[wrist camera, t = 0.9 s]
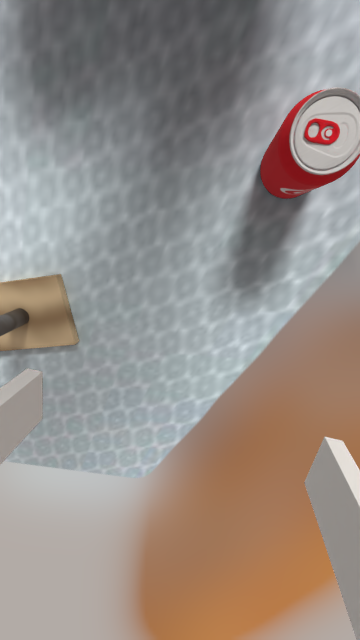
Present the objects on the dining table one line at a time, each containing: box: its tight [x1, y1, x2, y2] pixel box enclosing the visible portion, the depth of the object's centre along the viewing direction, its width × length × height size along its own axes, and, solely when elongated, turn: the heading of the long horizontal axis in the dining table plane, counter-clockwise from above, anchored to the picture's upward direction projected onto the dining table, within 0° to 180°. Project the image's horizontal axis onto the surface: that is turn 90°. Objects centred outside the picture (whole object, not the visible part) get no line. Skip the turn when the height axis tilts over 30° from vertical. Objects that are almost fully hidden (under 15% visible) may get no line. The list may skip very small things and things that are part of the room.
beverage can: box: [260, 88, 360, 199], centre depth 25 cm, size 6×6×12 cm
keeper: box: [0, 274, 79, 351], centre depth 37 cm, size 10×14×7 cm
